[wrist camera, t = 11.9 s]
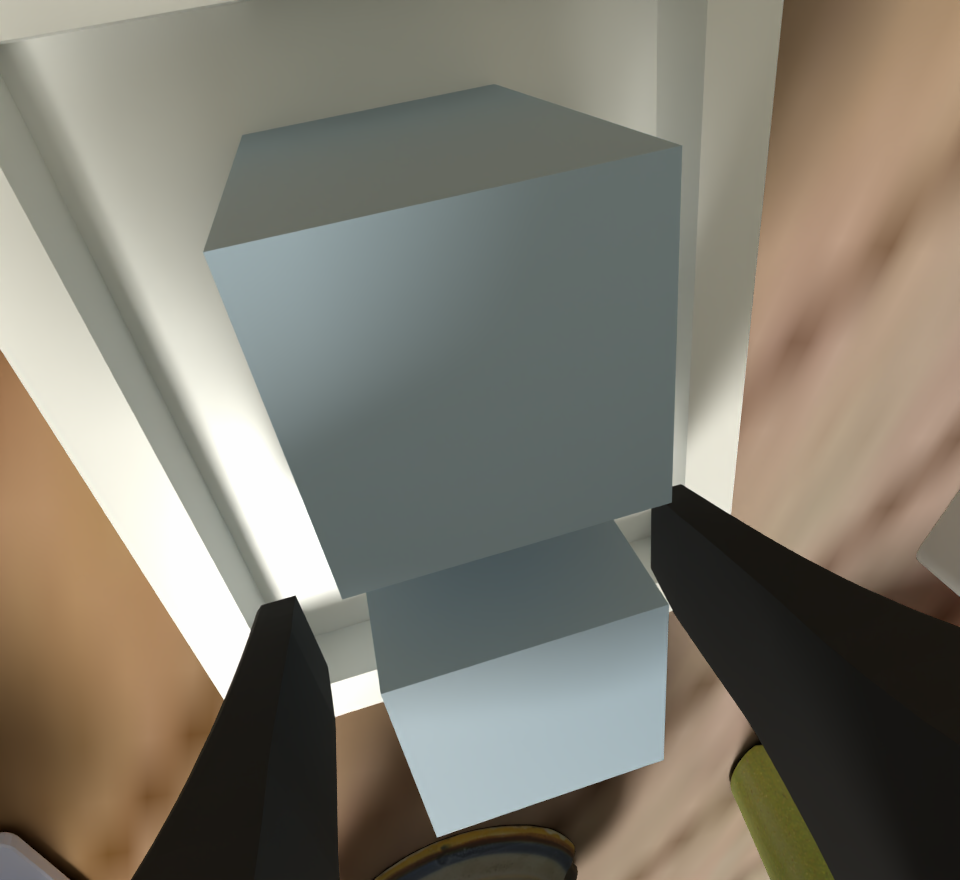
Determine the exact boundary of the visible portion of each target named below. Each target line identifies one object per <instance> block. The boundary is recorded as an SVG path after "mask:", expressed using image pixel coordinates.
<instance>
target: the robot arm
mask: <svg viewBox="0 0 960 880" xmlns="http://www.w3.org/2000/svg"><path fill="white" fill-rule="evenodd" d="M651 570H652V572H653V574H654V576H655V578H656V580H657V582H658V584H659V586H660V588H661V590H662V591H663V593H664V595H665V597H666V599H667V601H668V603H669V605H670V606H671V608H672V610H673V612H674V614H675V615H676V617H677V618H678V620H679V621H680V623H681V624H682V626H683V627H684V629H685V630H686V632H687V633H688V635H689V636H690V638H691V639H692V641H693V642H694V643H695V645H696V646H697V648H698V649H699V651H700V652H701V654H702V655H703V656H704V658H705V659H706V661H707V662H708V664H709V665H710V667H711V668H712V669H713V671H714V672H715V674H716V675H717V677H718V678H719V679H720V681H721V682H722V684H723V685H724V687H725V688H726V690H727V691H728V692H729V694H730V695H731V697H732V698H733V700H734V701H735V703H736V704H737V705H738V707H739V708H740V710H741V711H742V713H743V714H744V716H745V717H746V719H747V720H748V722H749V724H750V725H751V727H752V728H753V730H754V731H755V733H756V735H757V736H758V738H759V740H760V742H761V743H762V745H763V747H764V749H765V750H766V752H767V754H768V756H769V758H770V759H771V761H772V763H773V765H774V766H775V768H776V770H777V772H778V774H779V775H780V777H781V779H782V781H783V782H784V784H785V786H786V788H787V790H788V792H789V794H790V795H791V797H792V799H793V801H794V803H795V805H796V807H797V808H798V810H799V812H800V814H801V816H802V818H803V820H804V822H805V823H806V825H807V827H808V829H809V831H810V833H811V835H812V836H813V838H814V840H815V842H816V844H817V846H818V848H819V850H820V852H821V854H822V856H823V858H824V860H825V862H826V864H827V866H828V868H829V870H830V872H831V874H832V876H833V878H834V880H960V627H958V626H955V625H952V624H950V623H947V622H944V621H942V620H939V619H936V618H933V617H931V616H928V615H926V614H923V613H921V612H918V611H916V610H913V609H911V608H909V607H906V606H904V605H901V604H899V603H897V602H895V601H892V600H890V599H888V598H886V597H883V596H881V595H879V594H877V593H874V592H872V591H870V590H868V589H865V588H863V587H861V586H859V585H857V584H855V583H853V582H850V581H848V580H846V579H844V578H842V577H840V576H838V575H836V574H834V573H833V572H831V571H829V570H827V569H825V568H823V567H821V566H819V565H817V564H815V563H813V562H811V561H809V560H807V559H806V558H804V557H802V556H800V555H798V554H796V553H795V552H793V551H791V550H789V549H787V548H786V547H784V546H782V545H780V544H779V543H777V542H775V541H773V540H772V539H770V538H768V537H767V536H765V535H763V534H761V533H760V532H758V531H756V530H755V529H753V528H751V527H750V526H748V525H746V524H745V523H743V522H741V521H740V520H738V519H737V518H735V517H733V516H732V515H730V514H729V513H727V512H725V511H724V510H722V509H721V508H719V507H717V506H716V505H714V504H713V503H711V502H709V501H708V500H706V499H705V498H703V497H701V496H700V495H698V494H697V493H695V492H693V491H692V490H690V489H688V488H687V487H685V486H684V485H682V484H679V485H676V486H672V503H669V504H665V505H662V506H659V507H655V508H652V509H651ZM0 880H70V879H69V878H67V877H66V876H65V875H64V874H63V873H61V872H60V871H59V870H58V869H57V868H55V867H54V866H53V865H52V864H51V863H49V862H48V861H47V860H46V859H45V858H43V857H42V856H41V855H40V854H39V853H38V852H36V851H35V850H34V849H33V848H32V847H30V846H29V845H28V844H27V843H26V842H24V841H23V840H22V839H21V838H20V837H18V836H17V835H15V834H13V833H9V832H0ZM131 880H340V878H339V861H338V827H337V768H336V726H335V714H334V706H333V698H332V691H331V684H330V677H329V670H328V665H327V663H326V661H325V659H324V656H323V654H322V652H321V650H320V648H319V645H318V643H317V641H316V639H315V637H314V634H313V632H312V630H311V628H310V626H309V623H308V621H307V619H306V617H305V615H304V613H303V610H302V608H301V606H300V604H299V602H298V599H297V597H296V595H295V596H291V597H288V598H284V599H281V600H278V601H274V602H271V603H267V604H264V605H261V606H260V608H259V609H258V611H257V613H256V616H255V619H254V622H253V625H252V628H251V631H250V634H249V637H248V640H247V642H246V645H245V648H244V651H243V653H242V656H241V659H240V661H239V664H238V667H237V669H236V672H235V674H234V677H233V680H232V682H231V684H230V687H229V689H228V692H227V694H226V696H225V699H224V701H223V704H222V706H221V708H220V711H219V713H218V716H217V718H216V720H215V723H214V725H213V727H212V729H211V732H210V734H209V736H208V738H207V740H206V742H205V744H204V746H203V748H202V750H201V753H200V755H199V757H198V759H197V761H196V763H195V765H194V767H193V769H192V771H191V774H190V776H189V778H188V780H187V782H186V784H185V786H184V788H183V789H182V791H181V793H180V795H179V797H178V799H177V801H176V803H175V805H174V807H173V808H172V810H171V812H170V814H169V816H168V818H167V819H166V821H165V823H164V825H163V827H162V828H161V830H160V832H159V834H158V835H157V837H156V839H155V841H154V843H153V844H152V846H151V848H150V849H149V851H148V853H147V854H146V856H145V858H144V859H143V861H142V863H141V864H140V866H139V868H138V869H137V871H136V872H135V874H134V876H133V877H132V879H131Z"/></svg>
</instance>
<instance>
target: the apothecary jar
mask: <svg viewBox="0 0 960 880" xmlns="http://www.w3.org/2000/svg"><path fill="white" fill-rule="evenodd" d="M574 854H575V847H574V845H573V844H572V843H571V841H570V840H569V839H567V838H566V837H565V836H563V835H562V834H560V833H558V832H556V831H554V830H552V829H548V828H542V827H535V826H498V827H490V828H484V829H478V830H474V831H470V832H466V833H463V834H459V835H456V836H453V837H450V838H447V839H444V840H441V841H438V842H436V843H433V844H431V845H429V846H427V847H425V848H423V849H421V850H419V851H416V852H415V853H413V854H411V855H409V856H407V857H406V858H404V859H402V860H401V861H399V862H398V863H396V864H395V865H393V866H392V867H390V868H389V869H387V870H386V871H384V872H383V873H382V874H380V875H379V876H378V877H377V878H375V879H374V880H576V879H577V874H578V870H577V866H576V865H575V864H573V863H572V861H573V858H574Z"/></svg>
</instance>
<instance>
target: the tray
mask: <svg viewBox="0 0 960 880" xmlns="http://www.w3.org/2000/svg"><path fill="white" fill-rule="evenodd" d="M783 3H784V0H0V349H1V351H2V352H3V354H4V355H5V357H6V359H7V360H8V362H9V363H10V365H11V366H12V368H13V370H14V371H15V373H16V374H17V376H18V377H19V379H20V381H21V382H22V384H23V385H24V387H25V388H26V390H27V391H28V393H29V395H30V396H31V398H32V399H33V401H34V402H35V404H36V406H37V407H38V409H39V410H40V412H41V413H42V415H43V417H44V418H45V420H46V421H47V423H48V424H49V426H50V428H51V429H52V431H53V432H54V434H55V435H56V437H57V439H58V440H59V442H60V443H61V445H62V446H63V448H64V450H65V451H66V453H67V454H68V456H69V457H70V459H71V460H72V462H73V464H74V465H75V467H76V468H77V470H78V471H79V473H80V475H81V476H82V478H83V479H84V481H85V482H86V484H87V486H88V487H89V489H90V490H91V492H92V493H93V495H94V497H95V498H96V500H97V501H98V503H99V504H100V506H101V508H102V509H103V511H104V512H105V514H106V515H107V517H108V519H109V520H110V522H111V523H112V525H113V526H114V528H115V530H116V531H117V533H118V534H119V536H120V537H121V539H122V540H123V542H124V544H125V545H126V547H127V548H128V550H129V551H130V553H131V555H132V556H133V558H134V559H135V561H136V562H137V564H138V566H139V567H140V569H141V570H142V572H143V573H144V575H145V577H146V578H147V580H148V581H149V583H150V584H151V586H152V588H153V589H154V591H155V592H156V594H157V595H158V597H159V599H160V600H161V602H162V603H163V605H164V606H165V608H166V610H167V611H168V613H169V614H170V616H171V617H172V619H173V620H174V622H175V624H176V625H177V627H178V628H179V630H180V631H181V633H182V635H183V636H184V638H185V639H186V641H187V642H188V644H189V646H190V647H191V649H192V650H193V652H194V653H195V655H196V657H197V658H198V660H199V661H200V663H201V664H202V666H203V668H204V669H205V671H206V672H207V674H208V675H209V677H210V679H211V680H212V682H213V683H214V685H215V686H216V688H217V690H218V691H219V693H220V694H221V696H222V697H223V699H225V696H226V694H227V692H228V689H229V687H230V684H231V682H232V680H233V677H234V674H235V672H236V669H237V667H238V664H239V661H240V659H241V656H242V653H243V651H244V648H245V645H246V642H247V640H248V637H249V634H250V631H251V628H252V625H253V622H254V619H255V616H256V613H257V611H258V609H259V608H260V606H261V605H264V604H267V603H271V602H274V601H278V600H281V599H284V598H288V597H291V596H295V595H296V597H297V599H298V602H299V604H300V606H301V608H302V610H303V613H304V615H305V617H306V619H307V621H308V623H309V626H310V628H311V630H312V632H313V634H314V637H315V639H316V641H317V643H318V645H319V648H320V650H321V652H322V654H323V656H324V659H325V661H326V663H327V665H328V670H329V677H330V684H331V691H332V698H333V706H334V714H335V717H336V716H339V715H342V714H346V713H349V712H352V711H355V710H358V709H362V708H365V707H368V706H371V705H374V704H378V703H381V702H384V701H383V699H382V696H381V693H380V686H379V679H378V672H377V665H376V658H375V651H374V644H373V637H372V630H371V623H370V617H369V610H368V603H367V596H366V593H363V594H359V595H356V596H352V597H349V598H346V599H342V597H341V595H340V592H339V590H338V588H337V585H336V583H335V580H334V578H333V575H332V573H331V570H330V568H329V565H328V563H327V560H326V558H325V555H324V553H323V550H322V548H321V545H320V543H319V540H318V538H317V535H316V533H315V530H314V528H313V525H312V523H311V520H310V518H309V515H308V513H307V510H306V508H305V505H304V503H303V500H302V498H301V495H300V493H299V490H298V488H297V485H296V483H295V480H294V478H293V475H292V473H291V470H290V468H289V465H288V463H287V460H286V458H285V456H284V453H283V451H282V448H281V446H280V443H279V441H278V438H277V436H276V433H275V431H274V428H273V426H272V423H271V421H270V418H269V416H268V413H267V411H266V408H265V406H264V403H263V401H262V398H261V396H260V393H259V391H258V388H257V386H256V383H255V381H254V378H253V376H252V373H251V371H250V368H249V366H248V363H247V361H246V358H245V356H244V353H243V351H242V348H241V346H240V343H239V341H238V338H237V336H236V333H235V331H234V328H233V326H232V324H231V321H230V319H229V316H228V314H227V311H226V309H225V306H224V304H223V301H222V299H221V296H220V294H219V291H218V289H217V286H216V284H215V281H214V279H213V276H212V274H211V271H210V269H209V266H208V264H207V261H206V259H205V256H204V254H203V251H204V248H205V245H206V242H207V239H208V236H209V233H210V230H211V227H212V224H213V221H214V218H215V215H216V212H217V209H218V206H219V203H220V200H221V197H222V194H223V191H224V188H225V185H226V182H227V179H228V176H229V173H230V170H231V167H232V164H233V161H234V158H235V155H236V152H237V149H238V146H239V143H240V140H241V137H242V135H245V134H250V133H255V132H260V131H265V130H270V129H275V128H280V127H284V126H289V125H294V124H299V123H304V122H309V121H314V120H319V119H324V118H329V117H334V116H339V115H344V114H349V113H354V112H359V111H363V110H368V109H373V108H378V107H383V106H388V105H393V104H398V103H403V102H408V101H413V100H418V99H423V98H428V97H433V96H438V95H442V94H447V93H452V92H457V91H462V90H467V89H472V88H477V87H482V86H487V85H492V84H496V85H499V86H502V87H505V88H508V89H511V90H514V91H517V92H520V93H523V94H526V95H529V96H533V97H536V98H539V99H542V100H545V101H548V102H551V103H554V104H557V105H560V106H563V107H566V108H569V109H572V110H575V111H578V112H581V113H584V114H587V115H591V116H594V117H597V118H600V119H603V120H606V121H609V122H612V123H615V124H618V125H621V126H624V127H627V128H630V129H633V130H636V131H639V132H642V133H645V134H649V135H652V136H655V137H658V138H661V139H664V140H667V141H670V142H673V143H676V144H679V145H682V174H681V208H680V242H679V275H678V309H677V343H676V377H675V411H674V445H673V478H672V486H676V485H679V484H682V485H684V486H685V487H687V488H688V489H690V490H692V491H693V492H695V493H697V494H698V495H700V496H701V497H703V498H705V499H706V500H708V501H709V502H711V503H713V504H714V505H716V506H717V507H719V508H721V509H722V510H724V511H725V512H727V513H729V514H730V515H731V508H732V498H733V489H734V479H735V469H736V459H737V450H738V440H739V430H740V421H741V411H742V401H743V391H744V382H745V372H746V362H747V353H748V343H749V333H750V323H751V314H752V304H753V294H754V285H755V275H756V265H757V255H758V246H759V236H760V226H761V217H762V207H763V197H764V187H765V178H766V168H767V158H768V149H769V139H770V129H771V120H772V110H773V100H774V90H775V81H776V71H777V61H778V52H779V42H780V32H781V22H782V13H783ZM614 521H615V523H616V524H617V526H618V527H619V529H620V530H621V532H622V533H623V535H624V536H625V538H626V540H627V541H628V543H629V544H630V546H631V547H632V549H633V550H634V552H635V553H636V555H637V556H638V558H639V559H640V561H641V562H642V564H643V566H644V567H645V569H646V570H647V572H648V573H649V575H650V576H651V578H652V579H653V581H654V582H655V584H656V585H657V587H658V588H659V590H660V591H661V593H662V595H663V596H664V598H665V599H666V597H665V595H664V593H663V591H662V590H661V588H660V586H659V584H658V582H657V580H656V578H655V576H654V574H653V572H652V570H651V509H648V510H645V511H642V512H638V513H635V514H631V515H628V516H625V517H621V518H618V519H614ZM666 601H667V599H666ZM667 602H668V601H667ZM668 604H669V603H668ZM670 611H673V610H672V608H671V606H670V605H669V612H670Z"/></svg>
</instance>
